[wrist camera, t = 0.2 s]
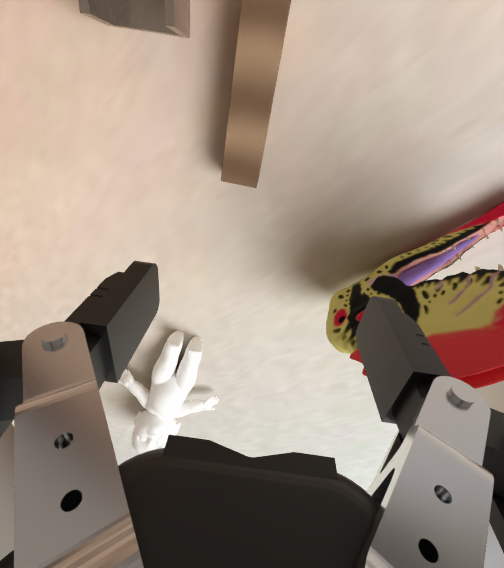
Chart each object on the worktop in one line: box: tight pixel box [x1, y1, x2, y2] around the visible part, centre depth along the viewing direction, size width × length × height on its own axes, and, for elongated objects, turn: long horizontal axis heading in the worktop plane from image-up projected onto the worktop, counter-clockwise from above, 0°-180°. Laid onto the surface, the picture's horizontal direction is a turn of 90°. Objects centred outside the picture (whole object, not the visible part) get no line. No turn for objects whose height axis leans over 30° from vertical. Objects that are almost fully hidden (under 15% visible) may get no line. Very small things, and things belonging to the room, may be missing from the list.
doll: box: [118, 331, 219, 454], centre depth 55 cm, size 19×9×30 cm
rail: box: [221, 0, 291, 188], centre depth 30 cm, size 16×4×4 cm, turn 170°
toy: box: [326, 202, 504, 389], centre depth 31 cm, size 7×27×20 cm, turn 128°
